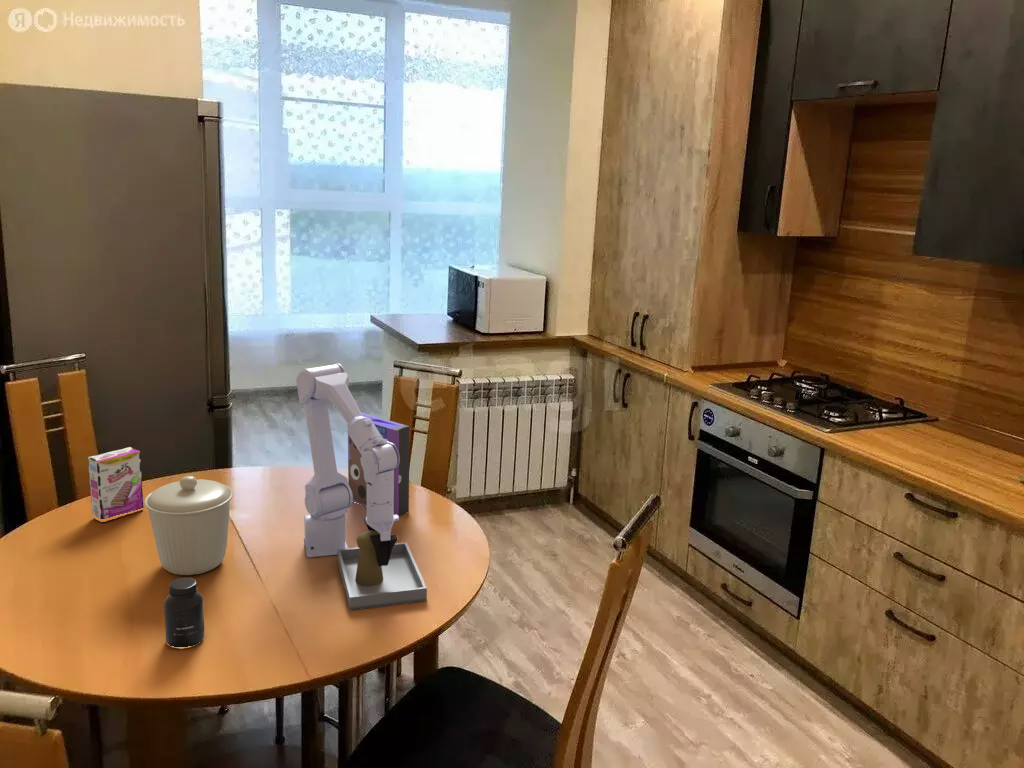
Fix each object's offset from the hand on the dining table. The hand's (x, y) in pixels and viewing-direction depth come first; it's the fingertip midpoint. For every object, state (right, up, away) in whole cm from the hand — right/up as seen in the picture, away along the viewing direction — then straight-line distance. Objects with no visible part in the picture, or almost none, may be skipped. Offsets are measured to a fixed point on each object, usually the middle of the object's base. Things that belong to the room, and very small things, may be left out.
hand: (380, 556), depth 177 cm
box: (0, -5, +1) cm, 6 cm away
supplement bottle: (-33, -11, -23) cm, 42 cm away
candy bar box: (-71, +4, +28) cm, 76 cm away
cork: (-2, -5, 0) cm, 6 cm away
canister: (-43, -3, +5) cm, 43 cm away
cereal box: (-7, +5, +40) cm, 41 cm away
